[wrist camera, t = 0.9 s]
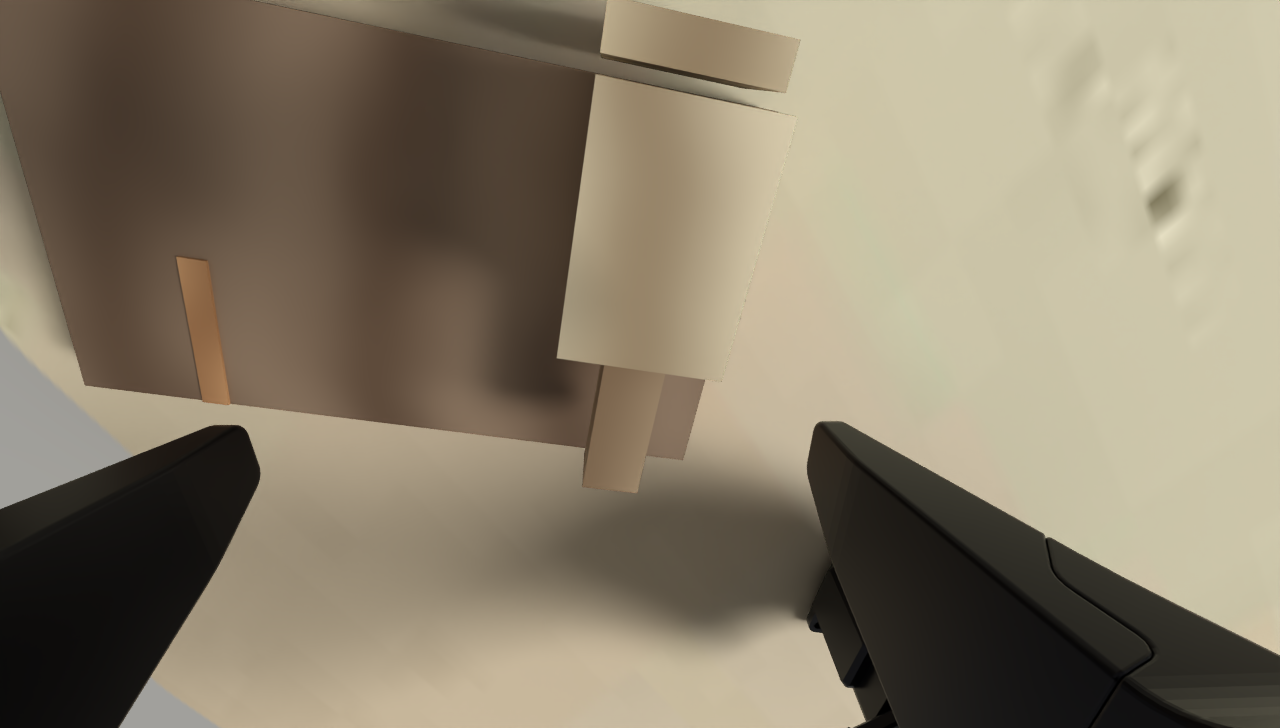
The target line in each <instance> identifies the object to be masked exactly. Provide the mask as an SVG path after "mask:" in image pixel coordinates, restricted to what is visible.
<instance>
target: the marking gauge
mask: <svg viewBox="0 0 1280 728" xmlns="http://www.w3.org/2000/svg"><path fill="white" fill-rule="evenodd" d="M799 44H800V39H795V38H791V37H787V36H782V35H778V34H774V33H769V32H765V31H761V30H756V29H752V28H748V27H743V26H739V25H735V24H730V23H726V22H722V21H717V20H713V19H709V18H704V17H700V16H695V15H691V14H687V13H682V12H678V11H674V10H669V9H665V8H661V7H656V6H652V5H648V4H643V3H639V2H635V1H630V0H607V5H606V12H605V19H604V26H603V34H602V41H601V48H600V54H601V57H602V58H605V59H609V60H614V61H619V62H623V63H628V64H632V65H637V66H642V67H646V68H651V69H656V70H660V71H665V72H670V73H674V74H679V75H683V76H688V77H693V78H697V79H702V80H707V81H711V82H716V83H721V84H725V85H730V86H734V87H739V88H745V89H755V90H764V91H773V92H783V93H786V91H787V87H788V84H789V80H790V76H791V73H792V69H793V65H794V62H795V58H796V55H797V51H798V47H799ZM797 120H798V117H796V116H791V115H787V114H782V113H778V112H774V111H769V110H765V109H760V108H756V107H752V106H747V105H743V104H738V103H733V102H729V101H724V100H719V99H714V98H710V97H705V96H700V95H696V94H691V93H686V92H681V91H677V90H672V89H667V88H663V87H658V86H653V85H648V84H644V83H639V82H634V81H629V80H625V79H620V78H615V77H611V76H606V75H601V74H596V75H595V83H594V90H593V97H592V104H591V112H590V119H589V126H588V134H587V141H586V148H585V155H584V163H583V170H582V177H581V185H580V192H579V199H578V206H577V214H576V221H575V228H574V236H573V243H572V250H571V257H570V265H569V272H568V279H567V287H566V294H565V301H564V308H563V316H562V323H561V330H560V338H559V345H558V352H557V358H559V359H566V360H573V361H579V362H586V363H593V364H600V368H599V374H598V380H597V385H596V391H595V397H594V402H593V408H592V414H591V419H590V425H589V431H588V436H587V442H586V448H585V453H584V468H583V484H582V487H587V488H596V489H604V490H613V491H622V492H630V493H637V491H638V487H639V483H640V479H641V474H642V470H643V466H644V462H645V458H646V453H647V449H648V445H649V441H650V436H651V432H652V428H653V424H654V420H655V415H656V411H657V407H658V403H659V399H660V394H661V390H662V386H663V382H664V377H665V374H669V375H676V376H683V377H690V378H697V379H704V380H711V381H718V382H722V379H723V376H724V372H725V369H726V365H727V362H728V358H729V355H730V351H731V348H732V345H733V341H734V338H735V334H736V331H737V327H738V324H739V320H740V317H741V313H742V310H743V307H744V303H745V300H746V296H747V293H748V289H749V286H750V282H751V279H752V276H753V272H754V269H755V265H756V262H757V258H758V255H759V251H760V248H761V244H762V241H763V238H764V234H765V231H766V227H767V224H768V220H769V217H770V213H771V210H772V206H773V203H774V200H775V196H776V193H777V189H778V186H779V182H780V179H781V175H782V172H783V169H784V165H785V162H786V158H787V155H788V151H789V148H790V144H791V141H792V137H793V134H794V131H795V127H796V124H797Z"/></svg>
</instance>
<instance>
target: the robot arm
mask: <svg viewBox="0 0 1280 728" xmlns="http://www.w3.org/2000/svg"><path fill="white" fill-rule="evenodd" d="M807 475H808V479H809V483H810V487H811V490H812V494H813V498H814V501H815V505H816V508H817V512H818V516H819V519H820V523H821V527H822V530H823V534H824V537H825V541H826V545H827V548H828V551H829V554H830V558H831V560H832V565H831V567H830V569H829V570H828V572H827V574H826V576H825V578H824V581H823V583H822V585H821V587H820V589H819V591H818V594H817V596H816V598H815V600H814V602H813V605H812V608H811V610H810V612H809V614H808V617H807V623H808V626H809V628H810V630H811V631H813V632H819V633H823V635H824V638H825V640H826V643H827V646H828V648H829V651H830V654H831V656H832V659H833V661H834V664H835V667H836V669H837V672H838V674H839V677H840V680H841V682H842V683H843V684H844V686H845V687H847V688H853V690H854V692H855V695H856V697H857V700H858V702H859V705H860V708H861V710H862V713H863V715H864V718H865V720H866V722H864V723H862V724H860V725H858V726H856V727H854V728H1280V655H1278V654H1276V653H1274V652H1272V651H1270V650H1268V649H1266V648H1264V647H1262V646H1260V645H1258V644H1256V643H1254V642H1252V641H1250V640H1248V639H1246V638H1244V637H1242V636H1240V635H1238V634H1236V633H1234V632H1232V631H1229V630H1227V629H1225V628H1223V627H1221V626H1219V625H1217V624H1215V623H1213V622H1211V621H1209V620H1207V619H1205V618H1203V617H1201V616H1199V615H1197V614H1195V613H1193V612H1191V611H1189V610H1187V609H1185V608H1183V607H1181V606H1179V605H1177V604H1175V603H1173V602H1171V601H1169V600H1167V599H1165V598H1163V597H1161V596H1159V595H1157V594H1155V593H1153V592H1151V591H1149V590H1147V589H1145V588H1143V587H1141V586H1139V585H1138V584H1136V583H1134V582H1132V581H1130V580H1128V579H1126V578H1124V577H1122V576H1120V575H1118V574H1116V573H1114V572H1112V571H1111V570H1109V569H1107V568H1105V567H1103V566H1101V565H1100V564H1098V563H1096V562H1094V561H1092V560H1090V559H1088V558H1087V557H1085V556H1083V555H1081V554H1079V553H1077V552H1076V551H1074V550H1072V549H1070V548H1068V547H1067V546H1065V545H1063V544H1061V543H1060V542H1058V541H1056V540H1054V539H1052V538H1050V537H1048V538H1045V535H1044V534H1043V533H1041V532H1040V531H1038V530H1036V529H1034V528H1032V527H1031V526H1029V525H1027V524H1025V523H1023V522H1022V521H1020V520H1018V519H1016V518H1015V517H1013V516H1011V515H1009V514H1007V513H1006V512H1004V511H1002V510H1000V509H998V508H997V507H995V506H993V505H991V504H989V503H988V502H986V501H984V500H982V499H980V498H979V497H977V496H975V495H973V494H971V493H970V492H968V491H966V490H964V489H963V488H961V487H959V486H957V485H955V484H954V483H952V482H950V481H948V480H946V479H945V478H943V477H941V476H939V475H937V474H936V473H934V472H932V471H930V470H928V469H927V468H925V467H923V466H921V465H919V464H918V463H916V462H914V461H912V460H911V459H909V458H907V457H905V456H903V455H902V454H900V453H898V452H896V451H894V450H893V449H891V448H889V447H887V446H885V445H884V444H882V443H880V442H878V441H877V440H875V439H873V438H871V437H869V436H868V435H866V434H864V433H862V432H860V431H859V430H857V429H855V428H853V427H851V426H850V425H848V424H846V423H844V422H840V421H822V422H819V423H817V424H816V426H815V428H814V431H813V436H812V441H811V446H810V451H809V456H808V462H807ZM259 480H260V467H259V464H258V461H257V458H256V455H255V452H254V450H253V447H252V444H251V441H250V438H249V435H248V433H247V431H246V430H245V429H244V428H243V427H241V426H239V425H213V426H209V427H206V428H204V429H201V430H199V431H196V432H194V433H191V434H189V435H186V436H184V437H181V438H179V439H176V440H173V441H171V442H168V443H166V444H163V445H161V446H158V447H156V448H153V449H151V450H148V451H146V452H143V453H141V454H138V455H136V456H133V457H131V458H128V459H126V460H123V461H121V462H118V463H116V464H113V465H111V466H108V467H106V468H103V469H101V470H98V471H95V472H93V473H90V474H88V475H86V476H83V477H80V478H78V479H75V480H73V481H70V482H68V483H66V484H63V485H60V486H58V487H55V488H53V489H50V490H48V491H45V492H43V493H40V494H38V495H35V496H32V497H30V498H28V499H25V500H22V501H20V502H17V503H15V504H12V505H10V506H7V507H5V508H2V509H0V728H119V727H120V725H121V723H122V722H123V720H124V718H125V717H126V715H127V714H128V712H129V710H130V709H131V707H132V706H133V704H134V702H135V701H136V699H137V698H138V696H139V694H140V693H141V691H142V690H143V688H144V686H145V685H146V683H147V681H148V680H149V678H150V677H151V675H152V673H153V672H154V670H155V669H156V667H157V665H158V664H159V662H160V661H161V659H162V657H163V656H164V654H165V653H166V651H167V649H168V648H169V646H170V644H171V643H172V641H173V640H174V638H175V636H176V635H177V633H178V632H179V630H180V628H181V627H182V625H183V624H184V622H185V620H186V619H187V617H188V615H189V614H190V612H191V611H192V609H193V607H194V606H195V604H196V603H197V601H198V599H199V598H200V596H201V595H202V593H203V591H204V590H205V588H206V587H207V585H208V583H209V581H210V580H211V578H212V576H213V575H214V573H215V571H216V569H217V567H218V566H219V564H220V562H221V560H222V558H223V556H224V554H225V552H226V550H227V548H228V546H229V544H230V542H231V540H232V538H233V536H234V534H235V531H236V529H237V527H238V525H239V523H240V521H241V519H242V517H243V515H244V513H245V511H246V509H247V507H248V505H249V503H250V501H251V499H252V497H253V494H254V492H255V490H256V488H257V486H258V484H259ZM848 728H850V727H848Z"/></svg>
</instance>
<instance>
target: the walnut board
mask: <svg viewBox="0 0 1280 728" xmlns="http://www.w3.org/2000/svg"><path fill="white" fill-rule="evenodd" d="M596 74H598V73H593V72H588V71H583V70H579V69H574V68H569V67H564V66H560V65H555V64H550V63H546V62H541V61H536V60H531V59H527V58H522V57H517V56H513V55H508V54H503V53H498V52H494V51H489V50H484V49H480V48H475V47H470V46H465V45H461V44H456V43H451V42H446V41H442V40H437V39H432V38H428V37H423V36H418V35H413V34H409V33H404V32H399V31H395V30H390V29H385V28H380V27H376V26H371V25H366V24H362V23H357V22H352V21H347V20H343V19H338V18H333V17H328V16H324V15H319V14H314V13H310V12H305V11H300V10H295V9H291V8H286V7H281V6H277V5H272V4H267V3H262V2H258V1H253V0H0V92H1V96H2V99H3V103H4V106H5V110H6V113H7V117H8V120H9V124H10V127H11V131H12V134H13V138H14V141H15V144H16V148H17V151H18V155H19V158H20V162H21V165H22V169H23V172H24V176H25V179H26V183H27V186H28V190H29V193H30V197H31V200H32V203H33V207H34V210H35V214H36V217H37V221H38V224H39V228H40V231H41V235H42V238H43V242H44V245H45V249H46V252H47V256H48V259H49V263H50V266H51V269H52V273H53V276H54V280H55V283H56V287H57V290H58V294H59V297H60V301H61V304H62V308H63V311H64V315H65V318H66V322H67V325H68V328H69V332H70V335H71V339H72V342H73V346H74V349H75V353H76V356H77V360H78V363H79V367H80V370H81V374H82V377H83V381H84V384H85V385H86V386H94V387H102V388H110V389H118V390H126V391H134V392H142V393H150V394H158V395H166V396H174V397H182V398H190V399H198V400H203V402H208V403H216V404H224V405H229V404H238V405H246V406H254V407H262V408H270V409H278V410H286V411H294V412H302V413H310V414H318V415H326V416H334V417H342V418H350V419H358V420H366V421H374V422H382V423H390V424H398V425H406V426H414V427H422V428H430V429H438V430H446V431H454V432H462V433H470V434H478V435H486V436H494V437H502V438H510V439H518V440H526V441H534V442H542V443H550V444H558V445H566V446H574V447H582V448H586V442H587V436H588V431H589V425H590V419H591V414H592V408H593V402H594V397H595V391H596V385H597V380H598V374H599V368H600V364H593V363H586V362H579V361H573V360H566V359H559V358H557V352H558V345H559V338H560V330H561V323H562V316H563V308H564V301H565V294H566V287H567V279H568V272H569V265H570V257H571V250H572V243H573V236H574V228H575V221H576V214H577V206H578V199H579V192H580V185H581V177H582V170H583V163H584V155H585V148H586V141H587V134H588V126H589V119H590V112H591V104H592V97H593V90H594V83H595V75H596ZM601 75H602V74H601ZM606 76H607V75H606ZM611 77H612V76H611ZM615 78H616V77H615ZM620 79H621V78H620ZM625 80H626V79H625ZM629 81H631V80H629ZM634 82H635V81H634ZM639 83H640V82H639ZM644 84H645V83H644ZM648 85H649V84H648ZM653 86H654V85H653ZM658 87H659V86H658ZM663 88H664V87H663ZM667 89H668V88H667ZM672 90H673V89H672ZM677 91H678V90H677ZM681 92H682V91H681ZM686 93H687V92H686ZM691 94H692V93H691ZM696 95H697V94H696ZM700 96H701V95H700ZM705 97H706V96H705ZM710 98H711V97H710ZM714 99H716V98H714ZM719 100H720V99H719ZM724 101H725V100H724ZM729 102H730V101H729ZM733 103H734V102H733ZM738 104H739V103H738ZM743 105H744V104H743ZM747 106H749V105H747ZM752 107H753V106H752ZM756 108H758V107H756ZM760 109H763V108H760ZM765 110H767V109H765ZM769 111H772V110H769ZM774 112H776V111H774ZM704 382H705V380H704V379H697V378H690V377H683V376H676V375H669V374H665V377H664V382H663V386H662V390H661V394H660V399H659V403H658V407H657V411H656V415H655V420H654V424H653V428H652V432H651V436H650V441H649V445H648V449H647V453H646V456H654V457H662V458H670V459H678V460H683V458H684V455H685V451H686V447H687V444H688V440H689V437H690V433H691V429H692V426H693V422H694V418H695V415H696V411H697V407H698V404H699V400H700V396H701V393H702V389H703V385H704Z"/></svg>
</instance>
